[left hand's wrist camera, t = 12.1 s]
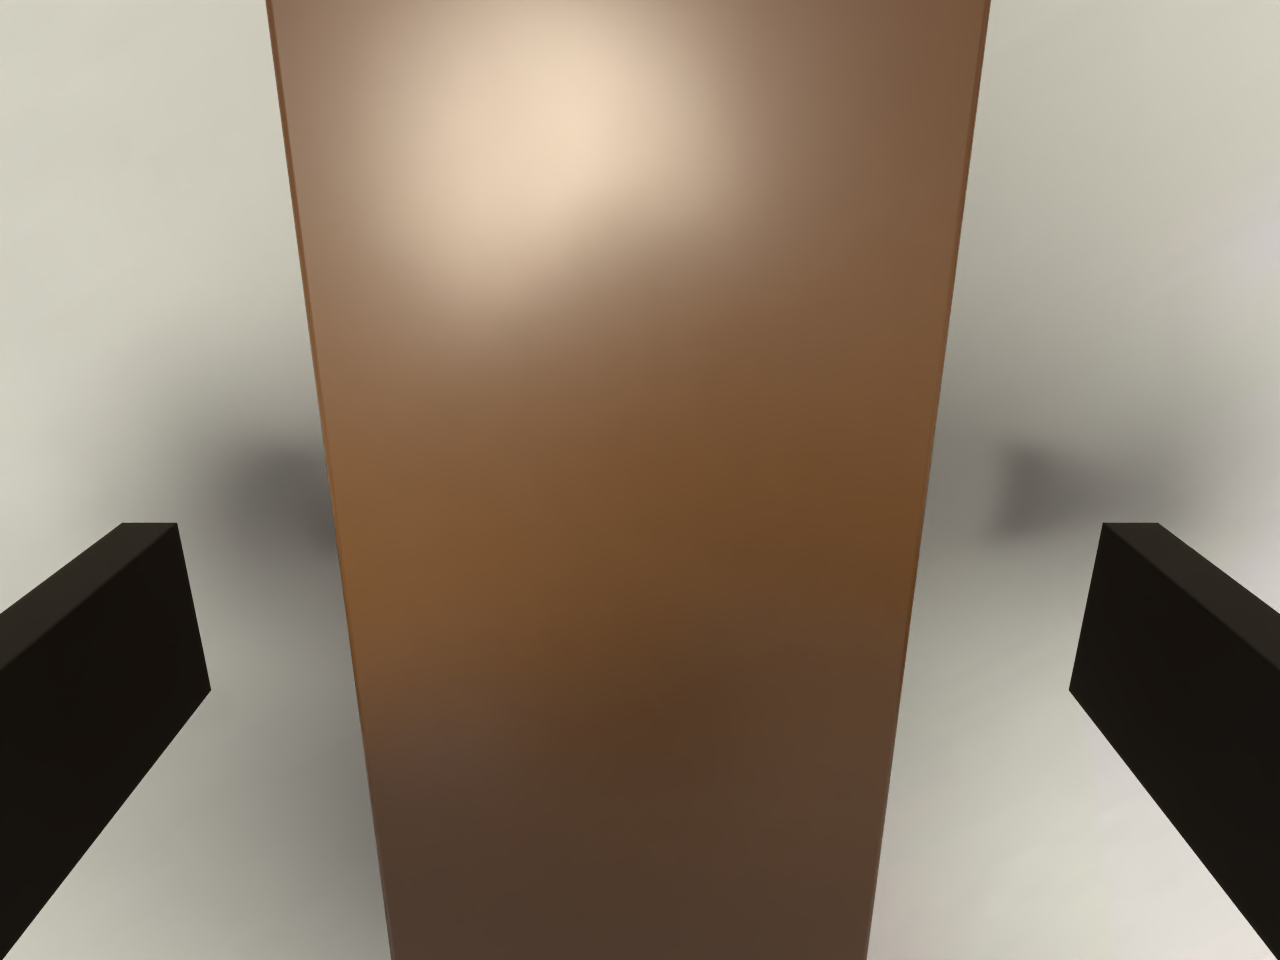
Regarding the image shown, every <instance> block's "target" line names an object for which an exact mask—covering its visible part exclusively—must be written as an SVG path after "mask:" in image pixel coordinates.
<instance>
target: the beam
mask: <svg viewBox="0 0 1280 960" xmlns="http://www.w3.org/2000/svg"><path fill="white" fill-rule="evenodd" d="M265 1H266V9H267V16H268V24H269V31H270V39H271V47H272V54H273V62H274V69H275V77H276V85H277V92H278V100H279V108H280V115H281V123H282V130H283V138H284V146H285V153H286V161H287V168H288V176H289V184H290V191H291V199H292V207H293V214H294V222H295V229H296V237H297V245H298V252H299V260H300V267H301V275H302V283H303V290H304V298H305V306H306V313H307V321H308V328H309V336H310V344H311V351H312V359H313V366H314V374H315V382H316V389H317V397H318V405H319V412H320V420H321V427H322V435H323V443H324V450H325V458H326V465H327V473H328V481H329V488H330V496H331V504H332V511H333V519H334V526H335V534H336V542H337V549H338V557H339V564H340V572H341V580H342V587H343V595H344V603H345V610H346V618H347V625H348V633H349V641H350V648H351V656H352V663H353V671H354V679H355V686H356V694H357V702H358V709H359V717H360V724H361V732H362V740H363V747H364V755H365V762H366V770H367V778H368V785H369V793H370V801H371V808H372V816H373V823H374V831H375V839H376V846H377V854H378V861H379V869H380V877H381V884H382V892H383V900H384V907H385V915H386V922H387V930H388V938H389V945H390V953H391V960H867V953H868V945H869V938H870V930H871V922H872V915H873V907H874V899H875V891H876V884H877V876H878V868H879V861H880V853H881V845H882V837H883V830H884V822H885V814H886V807H887V799H888V791H889V783H890V776H891V768H892V760H893V752H894V745H895V737H896V729H897V722H898V714H899V706H900V698H901V691H902V683H903V675H904V668H905V660H906V652H907V644H908V637H909V629H910V621H911V614H912V606H913V598H914V590H915V583H916V575H917V567H918V560H919V552H920V544H921V536H922V529H923V521H924V513H925V506H926V498H927V490H928V482H929V475H930V467H931V459H932V452H933V444H934V436H935V428H936V421H937V413H938V405H939V398H940V390H941V382H942V374H943V367H944V359H945V351H946V344H947V336H948V328H949V320H950V313H951V305H952V297H953V290H954V282H955V274H956V266H957V259H958V251H959V243H960V236H961V228H962V220H963V212H964V205H965V197H966V189H967V182H968V174H969V166H970V158H971V151H972V143H973V135H974V128H975V120H976V112H977V104H978V97H979V89H980V81H981V74H982V66H983V58H984V50H985V43H986V35H987V27H988V20H989V12H990V4H991V0H265Z"/></svg>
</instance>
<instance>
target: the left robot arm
mask: <svg viewBox="0 0 1280 960" xmlns="http://www.w3.org/2000/svg"><path fill="white" fill-rule="evenodd" d="M210 691H211V687H210V682H209V677H208V672H207V667H206V662H205V657H204V652H203V648H202V643H201V638H200V633H199V628H198V623H197V618H196V613H195V608H194V603H193V599H192V594H191V589H190V584H189V579H188V574H187V569H186V564H185V559H184V554H183V550H182V545H181V540H180V535H179V530H178V525H177V523H121V524H120V525H119V526H117V527H116V528H115V529H113V530H112V531H111V532H109V533H108V534H107V535H105V536H104V537H103V538H101V539H100V540H99V541H97V542H96V543H95V544H93V545H92V546H91V547H89V548H88V549H87V550H85V551H84V552H83V553H81V554H80V555H79V556H77V557H76V558H75V559H73V560H72V561H70V562H69V563H68V564H66V565H65V566H64V567H62V568H61V569H60V570H58V571H57V572H56V573H54V574H53V575H52V576H50V577H49V578H48V579H46V580H45V581H44V582H42V583H41V584H40V585H38V586H37V587H36V588H34V589H33V590H32V591H30V592H29V593H28V594H26V595H25V596H24V597H22V598H21V599H20V600H18V601H17V602H16V603H14V604H13V605H12V606H10V607H9V608H8V609H6V610H5V611H4V612H2V613H1V614H0V960H3V958H4V957H5V956H6V954H7V953H8V952H9V951H10V949H11V948H12V947H13V945H14V944H15V943H16V942H17V940H18V939H19V938H20V936H21V935H22V934H23V933H24V931H25V930H26V929H27V927H28V926H29V925H30V923H31V922H32V921H33V920H34V918H35V917H36V916H37V914H38V913H39V912H40V911H41V909H42V908H43V907H44V905H45V904H46V903H47V902H48V900H49V899H50V898H51V896H52V895H53V894H54V892H55V891H56V890H57V889H58V887H59V886H60V885H61V883H62V882H63V881H64V880H65V878H66V877H67V876H68V874H69V873H70V872H71V871H72V869H73V868H74V867H75V865H76V864H77V863H78V861H79V860H80V859H81V858H82V856H83V855H84V854H85V852H86V851H87V850H88V849H89V847H90V846H91V845H92V843H93V842H94V841H95V840H96V838H97V837H98V836H99V834H100V833H101V832H102V830H103V829H104V828H105V827H106V825H107V824H108V823H109V821H110V820H111V819H112V818H113V816H114V815H115V814H116V812H117V811H118V810H119V809H120V807H121V806H122V805H123V803H124V802H125V801H126V799H127V798H128V797H129V796H130V794H131V793H132V792H133V790H134V789H135V788H136V787H137V785H138V784H139V783H140V781H141V780H142V779H143V778H144V776H145V775H146V774H147V772H148V771H149V770H150V768H151V767H152V766H153V765H154V763H155V762H156V761H157V759H158V758H159V757H160V756H161V754H162V753H163V752H164V750H165V749H166V748H167V747H168V745H169V744H170V743H171V741H172V740H173V739H174V737H175V736H176V735H177V734H178V732H179V731H180V730H181V728H182V727H183V726H184V725H185V723H186V722H187V721H188V719H189V718H190V717H191V716H192V714H193V713H194V712H195V710H196V709H197V708H198V706H199V705H200V704H201V703H202V701H203V700H204V699H205V697H206V696H207V695H208V694H209V692H210ZM1069 691H1070V692H1071V694H1072V695H1073V696H1074V697H1075V699H1076V700H1077V701H1078V703H1079V704H1080V705H1081V706H1082V708H1083V709H1084V710H1085V712H1086V713H1087V714H1088V716H1089V717H1090V718H1091V719H1092V721H1093V722H1094V723H1095V725H1096V726H1097V727H1098V728H1099V730H1100V731H1101V732H1102V734H1103V735H1104V736H1105V737H1106V739H1107V740H1108V741H1109V743H1110V744H1111V745H1112V747H1113V748H1114V749H1115V750H1116V752H1117V753H1118V754H1119V756H1120V757H1121V758H1122V759H1123V761H1124V762H1125V763H1126V765H1127V766H1128V767H1129V768H1130V770H1131V771H1132V772H1133V774H1134V775H1135V776H1136V778H1137V779H1138V780H1139V781H1140V783H1141V784H1142V785H1143V787H1144V788H1145V789H1146V790H1147V792H1148V793H1149V794H1150V796H1151V797H1152V798H1153V800H1154V801H1155V802H1156V803H1157V805H1158V806H1159V807H1160V809H1161V810H1162V811H1163V812H1164V814H1165V815H1166V816H1167V818H1168V819H1169V820H1170V821H1171V823H1172V824H1173V825H1174V827H1175V828H1176V829H1177V831H1178V832H1179V833H1180V834H1181V836H1182V837H1183V838H1184V840H1185V841H1186V842H1187V843H1188V845H1189V846H1190V847H1191V849H1192V850H1193V851H1194V852H1195V854H1196V855H1197V856H1198V858H1199V859H1200V860H1201V862H1202V863H1203V864H1204V865H1205V867H1206V868H1207V869H1208V871H1209V872H1210V873H1211V874H1212V876H1213V877H1214V878H1215V880H1216V881H1217V882H1218V883H1219V885H1220V886H1221V887H1222V889H1223V890H1224V891H1225V893H1226V894H1227V895H1228V896H1229V898H1230V899H1231V900H1232V902H1233V903H1234V904H1235V905H1236V907H1237V908H1238V909H1239V911H1240V912H1241V913H1242V914H1243V916H1244V917H1245V918H1246V920H1247V921H1248V922H1249V924H1250V925H1251V926H1252V927H1253V929H1254V930H1255V931H1256V933H1257V934H1258V935H1259V936H1260V938H1261V939H1262V940H1263V942H1264V943H1265V944H1266V945H1267V947H1268V948H1269V949H1270V951H1271V952H1272V953H1273V955H1274V956H1275V957H1276V958H1277V960H1280V614H1279V613H1278V612H1276V611H1275V610H1274V609H1272V608H1271V607H1270V606H1268V605H1267V604H1266V603H1264V602H1263V601H1262V600H1260V599H1259V598H1258V597H1256V596H1255V595H1254V594H1252V593H1251V592H1250V591H1248V590H1247V589H1246V588H1244V587H1243V586H1242V585H1240V584H1239V583H1238V582H1236V581H1235V580H1234V579H1232V578H1231V577H1230V576H1228V575H1227V574H1226V573H1224V572H1223V571H1222V570H1220V569H1219V568H1218V567H1216V566H1215V565H1214V564H1212V563H1211V562H1209V561H1208V560H1207V559H1205V558H1204V557H1203V556H1201V555H1200V554H1199V553H1197V552H1196V551H1195V550H1193V549H1192V548H1191V547H1189V546H1188V545H1187V544H1185V543H1184V542H1183V541H1181V540H1180V539H1179V538H1177V537H1176V536H1175V535H1173V534H1172V533H1171V532H1169V531H1168V530H1167V529H1165V528H1164V527H1163V526H1161V525H1160V524H1159V523H1103V525H1102V530H1101V535H1100V540H1099V545H1098V549H1097V554H1096V559H1095V564H1094V569H1093V574H1092V579H1091V584H1090V589H1089V594H1088V598H1087V603H1086V608H1085V613H1084V618H1083V623H1082V628H1081V633H1080V638H1079V643H1078V647H1077V652H1076V657H1075V662H1074V667H1073V672H1072V677H1071V682H1070V687H1069Z"/></svg>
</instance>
